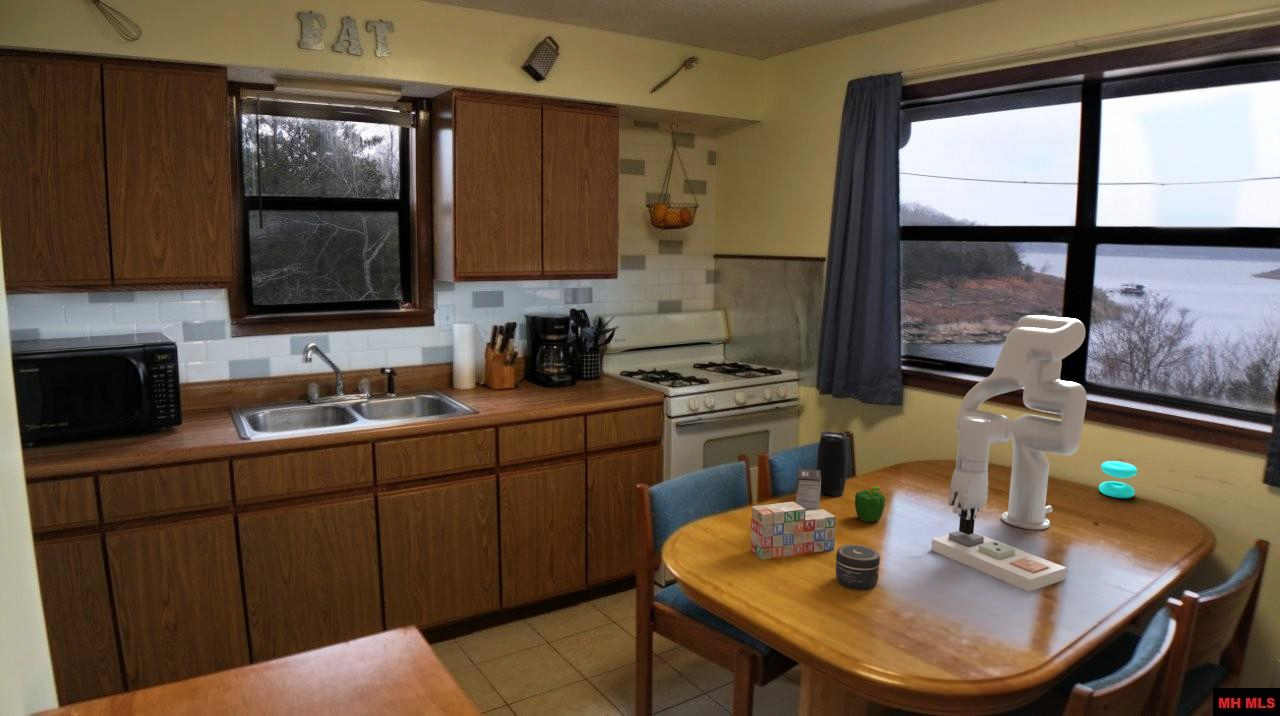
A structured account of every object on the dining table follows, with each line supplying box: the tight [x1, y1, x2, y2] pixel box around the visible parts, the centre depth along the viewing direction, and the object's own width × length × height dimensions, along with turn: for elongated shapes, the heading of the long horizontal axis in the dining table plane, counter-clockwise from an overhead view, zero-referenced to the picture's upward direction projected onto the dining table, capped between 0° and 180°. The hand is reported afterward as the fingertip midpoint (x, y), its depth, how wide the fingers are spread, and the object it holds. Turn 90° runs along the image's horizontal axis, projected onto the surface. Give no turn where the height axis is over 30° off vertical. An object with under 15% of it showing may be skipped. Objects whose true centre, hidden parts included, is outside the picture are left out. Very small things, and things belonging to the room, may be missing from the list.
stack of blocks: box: [750, 501, 836, 560], centre depth 206 cm, size 21×6×12 cm, turn 108°
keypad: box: [930, 532, 1067, 592], centre depth 199 cm, size 14×28×3 cm, turn 30°
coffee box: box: [795, 468, 821, 511], centre depth 221 cm, size 9×6×16 cm
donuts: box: [1098, 460, 1138, 499], centre depth 255 cm, size 10×10×10 cm
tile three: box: [1010, 558, 1049, 574], centre depth 192 cm, size 6×6×3 cm
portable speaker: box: [816, 430, 849, 498], centre depth 251 cm, size 9×9×20 cm
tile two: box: [978, 540, 1015, 560], centre depth 199 cm, size 6×6×3 cm
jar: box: [835, 544, 881, 591], centre depth 187 cm, size 10×10×8 cm
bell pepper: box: [854, 485, 886, 523], centre depth 229 cm, size 8×8×10 cm
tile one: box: [948, 530, 984, 547], centre depth 207 cm, size 6×6×3 cm
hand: (966, 532), depth 206 cm, fingers closed
